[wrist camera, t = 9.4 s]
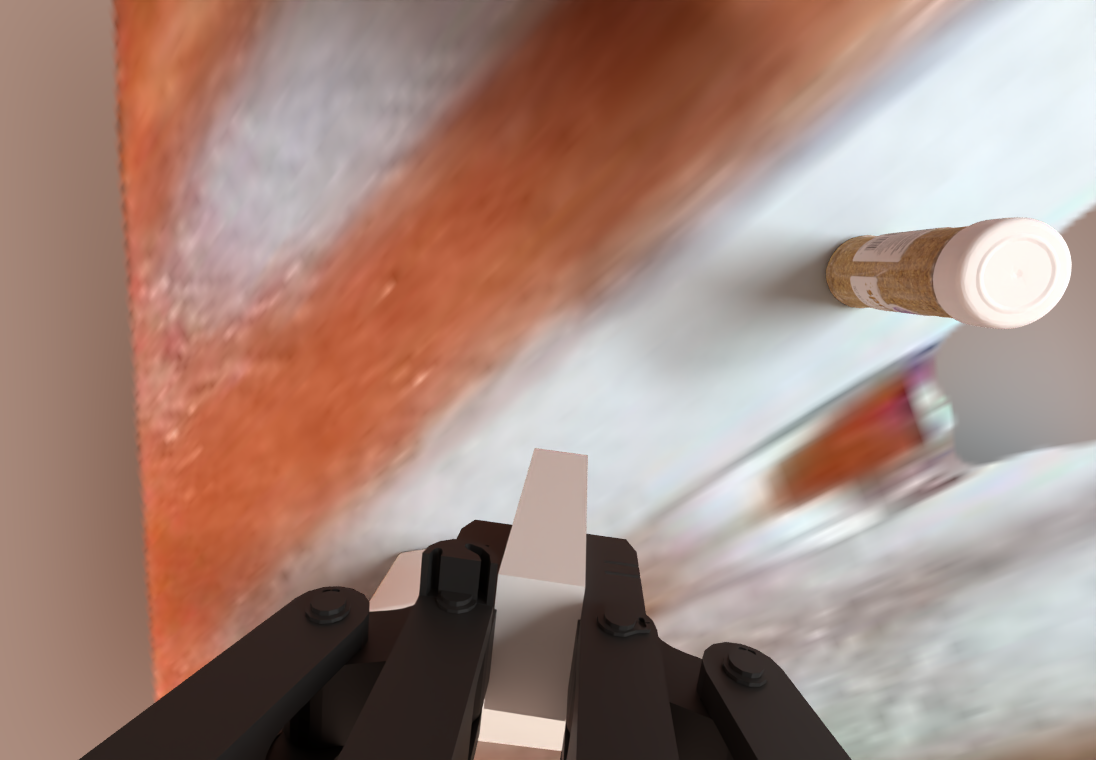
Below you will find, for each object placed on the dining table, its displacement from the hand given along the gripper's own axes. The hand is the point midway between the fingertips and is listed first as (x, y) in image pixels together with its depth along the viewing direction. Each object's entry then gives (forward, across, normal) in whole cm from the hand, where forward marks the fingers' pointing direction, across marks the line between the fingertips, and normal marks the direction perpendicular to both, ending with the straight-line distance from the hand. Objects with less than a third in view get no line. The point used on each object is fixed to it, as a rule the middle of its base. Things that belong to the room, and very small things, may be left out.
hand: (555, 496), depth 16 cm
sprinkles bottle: (+24, +17, +8) cm, 30 cm away
